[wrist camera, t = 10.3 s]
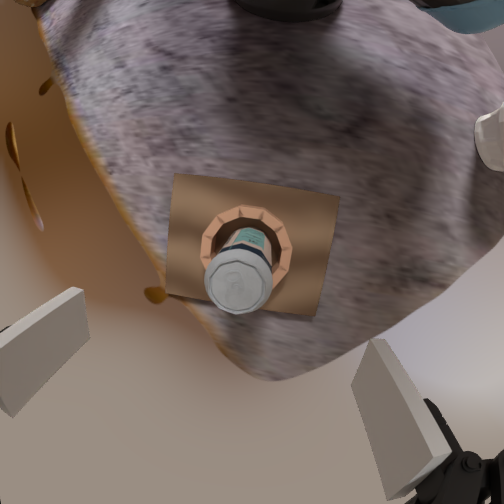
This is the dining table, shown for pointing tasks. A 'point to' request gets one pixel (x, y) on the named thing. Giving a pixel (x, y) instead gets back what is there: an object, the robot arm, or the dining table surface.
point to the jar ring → (255, 213)
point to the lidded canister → (241, 272)
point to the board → (254, 194)
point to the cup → (491, 139)
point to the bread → (31, 2)
